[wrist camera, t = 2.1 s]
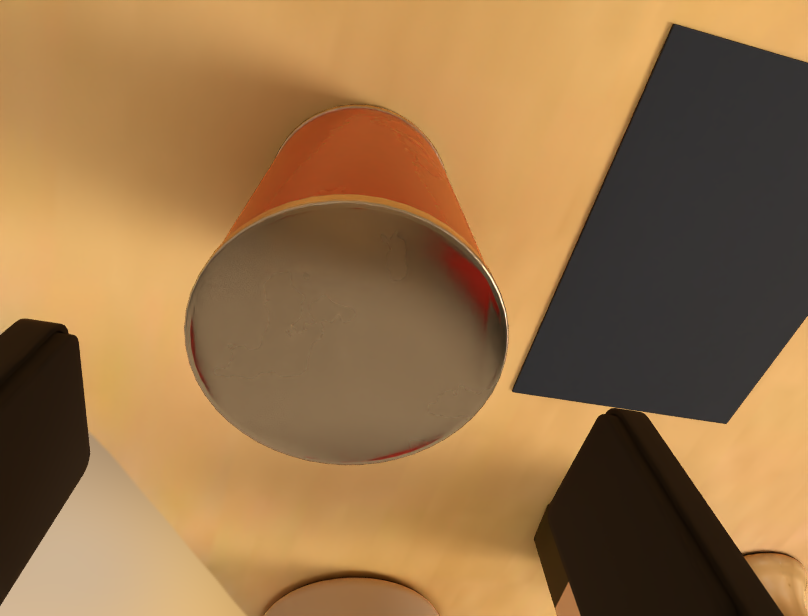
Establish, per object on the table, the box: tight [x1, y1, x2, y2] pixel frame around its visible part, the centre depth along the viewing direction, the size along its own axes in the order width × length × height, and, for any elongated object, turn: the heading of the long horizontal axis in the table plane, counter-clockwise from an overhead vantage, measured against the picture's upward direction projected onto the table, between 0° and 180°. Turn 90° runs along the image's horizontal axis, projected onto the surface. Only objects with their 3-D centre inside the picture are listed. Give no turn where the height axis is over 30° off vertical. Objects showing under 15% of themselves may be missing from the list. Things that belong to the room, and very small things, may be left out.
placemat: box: [512, 24, 808, 424], centre depth 21 cm, size 16×12×1 cm
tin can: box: [184, 104, 508, 465], centre depth 15 cm, size 7×7×10 cm
